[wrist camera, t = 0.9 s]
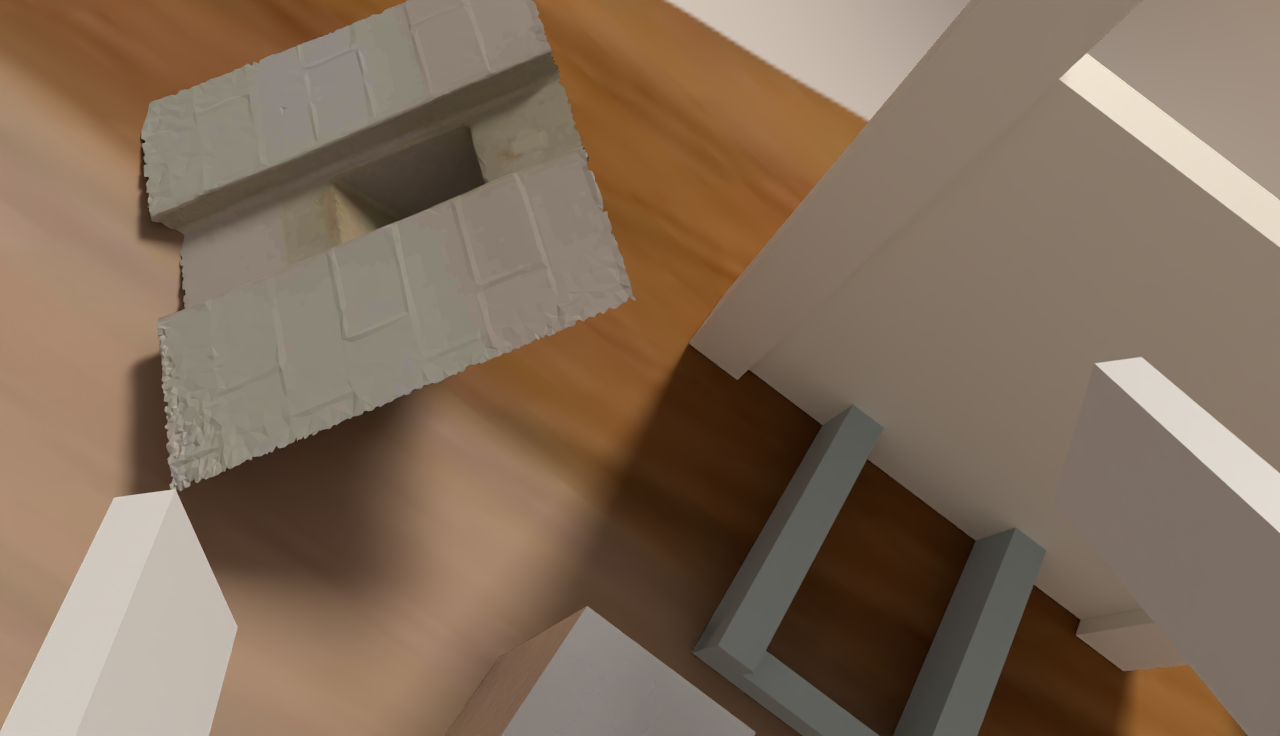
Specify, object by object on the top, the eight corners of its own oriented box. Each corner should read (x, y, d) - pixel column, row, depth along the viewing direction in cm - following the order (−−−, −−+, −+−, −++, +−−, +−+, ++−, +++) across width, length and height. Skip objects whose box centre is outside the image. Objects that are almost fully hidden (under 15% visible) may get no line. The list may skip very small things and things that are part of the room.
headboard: (536, 536, 31) (989, 41, 9) (718, 288, 37) (1235, -346, 16) (1057, 927, 31) (2686, 1333, 10) (1148, 613, 38) (2244, 429, 16)
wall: (366, 545, 33) (715, 371, 29) (160, 505, 26) (591, 263, 22) (311, 212, 40) (584, 36, 36) (139, 106, 33) (458, -130, 29)
